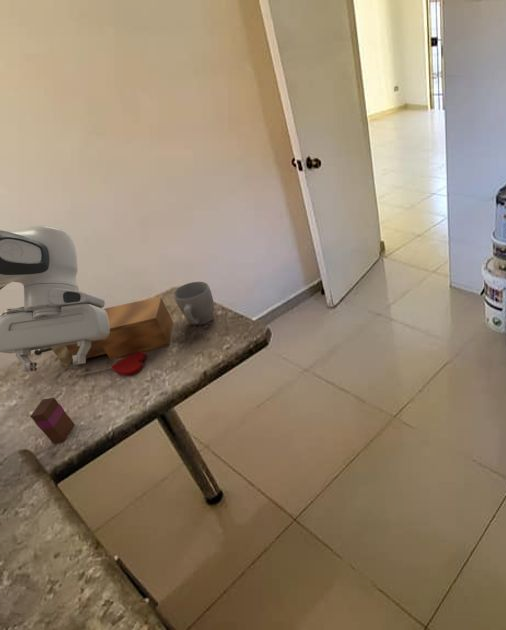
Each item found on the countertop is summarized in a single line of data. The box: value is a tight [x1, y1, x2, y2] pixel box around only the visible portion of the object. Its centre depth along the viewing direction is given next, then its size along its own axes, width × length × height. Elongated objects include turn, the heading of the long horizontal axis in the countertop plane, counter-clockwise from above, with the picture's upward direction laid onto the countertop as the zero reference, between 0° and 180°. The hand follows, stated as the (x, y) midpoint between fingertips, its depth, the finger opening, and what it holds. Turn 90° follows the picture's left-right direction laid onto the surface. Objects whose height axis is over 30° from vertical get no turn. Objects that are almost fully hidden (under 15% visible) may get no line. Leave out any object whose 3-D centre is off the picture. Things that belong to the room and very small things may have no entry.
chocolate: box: [30, 397, 76, 444], centre depth 86 cm, size 2×5×8 cm, turn 11°
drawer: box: [33, 340, 107, 367], centre depth 108 cm, size 17×10×7 cm, turn 111°
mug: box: [173, 281, 215, 326], centre depth 116 cm, size 12×9×10 cm
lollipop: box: [74, 351, 147, 377], centre depth 104 cm, size 8×1×15 cm
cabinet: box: [99, 296, 174, 360], centre depth 112 cm, size 14×11×9 cm
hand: (54, 367), depth 89 cm, fingers open, 8 cm apart
